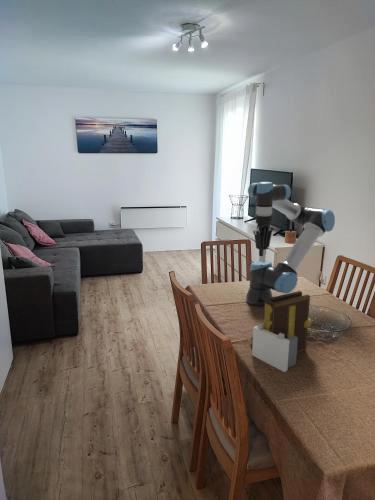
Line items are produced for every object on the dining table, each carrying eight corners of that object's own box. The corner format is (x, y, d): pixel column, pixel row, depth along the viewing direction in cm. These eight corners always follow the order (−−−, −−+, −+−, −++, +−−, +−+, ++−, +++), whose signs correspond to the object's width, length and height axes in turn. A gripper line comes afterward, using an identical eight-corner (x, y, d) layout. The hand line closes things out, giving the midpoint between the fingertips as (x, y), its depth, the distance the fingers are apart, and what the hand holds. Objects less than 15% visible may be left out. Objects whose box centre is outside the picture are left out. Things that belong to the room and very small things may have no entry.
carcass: (264, 348, 158) (265, 316, 154) (296, 364, 146) (298, 330, 143) (252, 355, 153) (253, 322, 149) (284, 372, 141) (286, 337, 137)
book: (271, 363, 147) (274, 306, 141) (258, 353, 155) (261, 298, 148) (312, 349, 157) (317, 295, 150) (298, 341, 164) (302, 289, 157)
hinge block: (253, 340, 165) (254, 332, 164) (262, 342, 163) (262, 334, 162) (250, 344, 162) (251, 336, 161) (259, 346, 160) (259, 338, 159)
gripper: (265, 212, 182) (264, 257, 188) (249, 215, 174) (247, 262, 180) (278, 214, 177) (276, 260, 183) (261, 217, 168) (260, 266, 175)
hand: (262, 261), depth 181 cm, fingers closed
